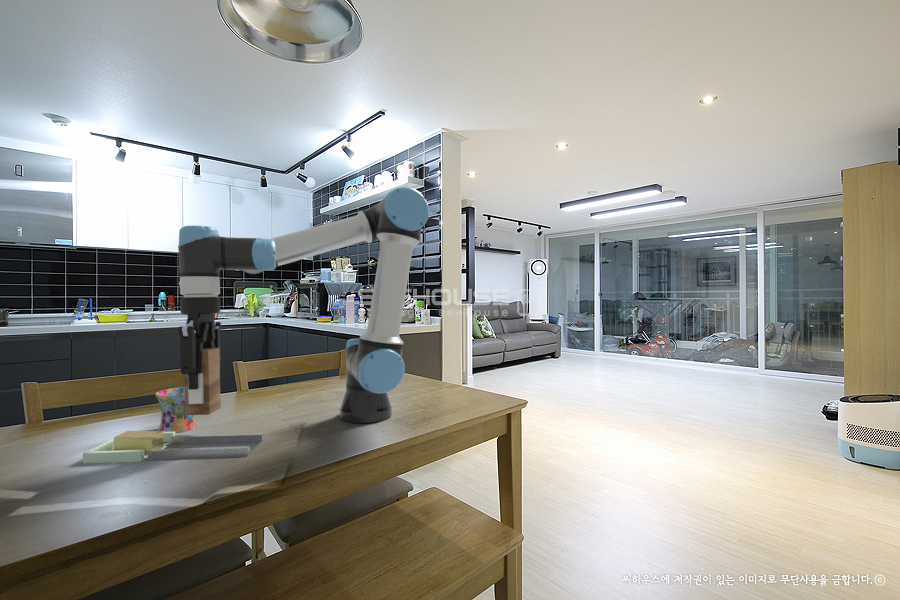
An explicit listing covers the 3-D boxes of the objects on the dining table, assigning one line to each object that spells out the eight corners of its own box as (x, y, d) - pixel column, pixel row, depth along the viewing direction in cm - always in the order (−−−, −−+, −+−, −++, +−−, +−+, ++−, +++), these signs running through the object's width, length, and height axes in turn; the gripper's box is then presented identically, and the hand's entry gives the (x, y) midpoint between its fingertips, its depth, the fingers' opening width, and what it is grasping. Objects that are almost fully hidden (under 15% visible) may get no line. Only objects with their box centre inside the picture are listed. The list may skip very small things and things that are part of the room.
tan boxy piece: (163, 448, 88) (163, 430, 88) (151, 455, 84) (151, 437, 84) (144, 449, 88) (144, 431, 88) (131, 456, 84) (131, 437, 84)
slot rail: (264, 442, 94) (264, 431, 94) (246, 461, 83) (246, 449, 83) (176, 444, 92) (176, 434, 92) (145, 464, 81) (145, 452, 81)
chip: (146, 448, 88) (146, 430, 88) (133, 455, 85) (133, 436, 84) (127, 448, 88) (127, 431, 88) (113, 455, 84) (113, 437, 84)
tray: (175, 444, 93) (175, 431, 93) (140, 465, 81) (141, 451, 81) (125, 445, 91) (125, 432, 91) (82, 468, 79) (82, 453, 79)
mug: (191, 436, 98) (191, 394, 97) (148, 440, 95) (148, 396, 95) (207, 421, 109) (207, 383, 109) (168, 424, 107) (168, 385, 106)
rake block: (220, 407, 90) (219, 347, 90) (209, 414, 85) (208, 350, 85) (197, 408, 90) (196, 348, 90) (185, 415, 85) (183, 351, 85)
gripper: (203, 296, 96) (206, 390, 96) (156, 296, 78) (159, 412, 78) (235, 295, 97) (238, 389, 97) (196, 296, 79) (199, 411, 79)
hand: (203, 399), depth 88 cm, fingers closed on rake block, 5 cm apart
